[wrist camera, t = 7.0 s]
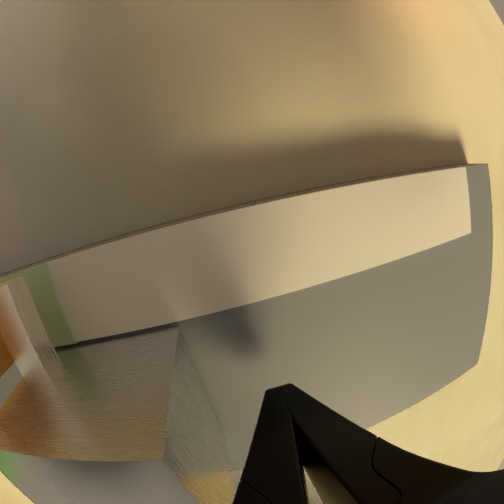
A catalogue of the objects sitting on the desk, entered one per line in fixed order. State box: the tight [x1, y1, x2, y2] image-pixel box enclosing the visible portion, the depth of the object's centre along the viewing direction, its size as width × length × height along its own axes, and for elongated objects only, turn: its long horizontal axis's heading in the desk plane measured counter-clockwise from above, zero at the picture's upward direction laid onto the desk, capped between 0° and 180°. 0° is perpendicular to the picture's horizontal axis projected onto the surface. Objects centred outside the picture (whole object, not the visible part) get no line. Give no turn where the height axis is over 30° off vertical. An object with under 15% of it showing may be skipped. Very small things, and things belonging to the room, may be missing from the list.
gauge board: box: [0, 164, 493, 471], centre depth 6 cm, size 10×30×6 cm, turn 102°
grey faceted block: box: [0, 275, 235, 504], centre depth 5 cm, size 7×5×4 cm, turn 12°
